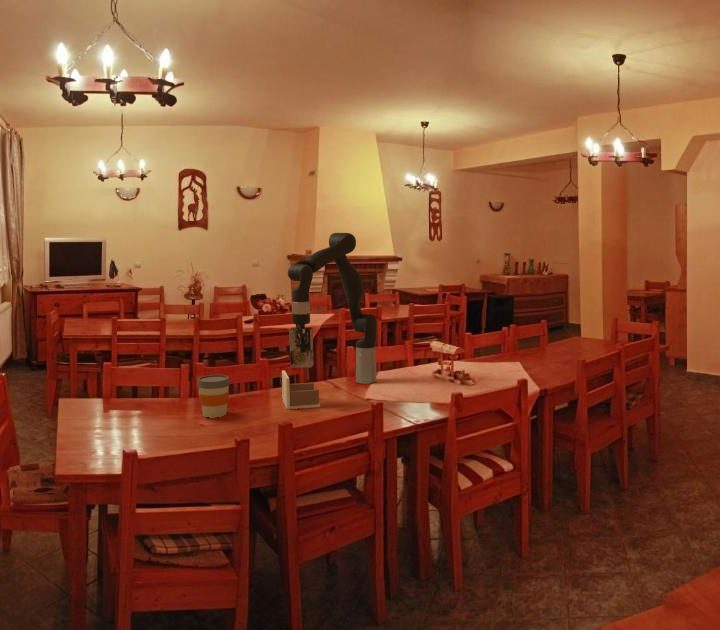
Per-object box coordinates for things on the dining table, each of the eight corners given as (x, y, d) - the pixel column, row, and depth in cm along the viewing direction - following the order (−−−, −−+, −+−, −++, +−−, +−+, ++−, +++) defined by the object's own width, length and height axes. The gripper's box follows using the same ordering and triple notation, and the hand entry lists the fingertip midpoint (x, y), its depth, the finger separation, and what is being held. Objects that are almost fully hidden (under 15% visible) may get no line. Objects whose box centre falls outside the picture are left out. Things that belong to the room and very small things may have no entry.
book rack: (314, 397, 279) (313, 368, 278) (320, 406, 265) (320, 376, 263) (282, 399, 276) (281, 370, 274) (286, 409, 262) (286, 378, 260)
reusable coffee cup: (217, 408, 263) (216, 373, 261) (237, 414, 255) (236, 377, 253) (192, 415, 254) (190, 378, 251) (211, 421, 246) (210, 383, 244)
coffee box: (313, 364, 271) (313, 327, 269) (311, 367, 265) (310, 329, 263) (292, 364, 272) (292, 327, 270) (289, 367, 266) (288, 329, 264)
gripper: (312, 314, 260) (313, 353, 262) (307, 309, 273) (307, 347, 276) (294, 314, 258) (295, 354, 260) (289, 310, 272) (290, 348, 274)
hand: (301, 350), depth 268 cm, fingers closed on coffee box, 7 cm apart
